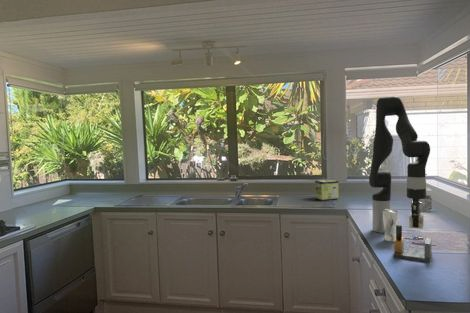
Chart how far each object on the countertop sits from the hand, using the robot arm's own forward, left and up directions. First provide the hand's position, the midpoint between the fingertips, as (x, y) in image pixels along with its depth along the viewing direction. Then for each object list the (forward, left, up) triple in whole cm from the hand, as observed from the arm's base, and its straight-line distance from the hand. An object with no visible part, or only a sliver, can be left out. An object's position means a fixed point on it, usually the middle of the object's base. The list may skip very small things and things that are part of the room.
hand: (416, 225), depth 158 cm
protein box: (-114, -76, -14) cm, 137 cm away
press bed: (0, -2, -14) cm, 14 cm away
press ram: (0, -7, -12) cm, 14 cm away
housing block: (0, 0, 0) cm, 0 cm away
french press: (-101, -5, -14) cm, 102 cm away
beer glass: (-20, -14, -14) cm, 28 cm away
